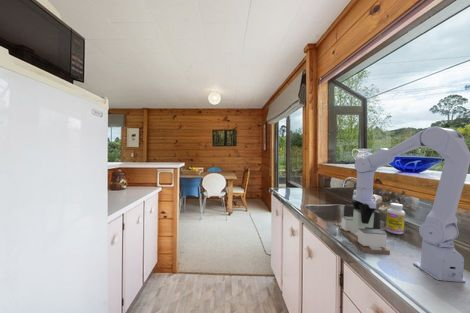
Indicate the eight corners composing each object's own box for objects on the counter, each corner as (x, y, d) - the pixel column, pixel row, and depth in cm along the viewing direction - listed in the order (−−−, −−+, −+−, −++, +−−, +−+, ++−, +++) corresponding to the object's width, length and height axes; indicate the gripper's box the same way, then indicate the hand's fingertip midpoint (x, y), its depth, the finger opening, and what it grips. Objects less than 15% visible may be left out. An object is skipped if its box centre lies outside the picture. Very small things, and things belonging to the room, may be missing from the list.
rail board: (389, 254, 79) (390, 249, 79) (363, 252, 80) (363, 247, 80) (359, 231, 101) (359, 227, 101) (338, 229, 102) (338, 226, 101)
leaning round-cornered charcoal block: (382, 231, 103) (383, 210, 102) (378, 233, 100) (380, 212, 100) (346, 221, 115) (347, 203, 115) (342, 222, 112) (343, 204, 112)
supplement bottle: (385, 232, 102) (387, 204, 101) (386, 228, 107) (387, 201, 106) (403, 235, 98) (405, 206, 97) (403, 231, 103) (405, 204, 102)
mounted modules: (386, 247, 80) (387, 233, 80) (363, 245, 81) (363, 232, 81) (359, 228, 100) (360, 217, 99) (341, 227, 100) (341, 216, 100)
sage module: (373, 227, 88) (374, 212, 88) (357, 226, 88) (358, 211, 88) (367, 224, 92) (368, 209, 92) (352, 223, 92) (353, 208, 92)
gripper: (385, 192, 82) (383, 228, 83) (365, 185, 97) (363, 216, 97) (366, 191, 82) (363, 227, 83) (348, 184, 97) (346, 215, 97)
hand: (362, 221), depth 90 cm, fingers closed on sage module, 4 cm apart
